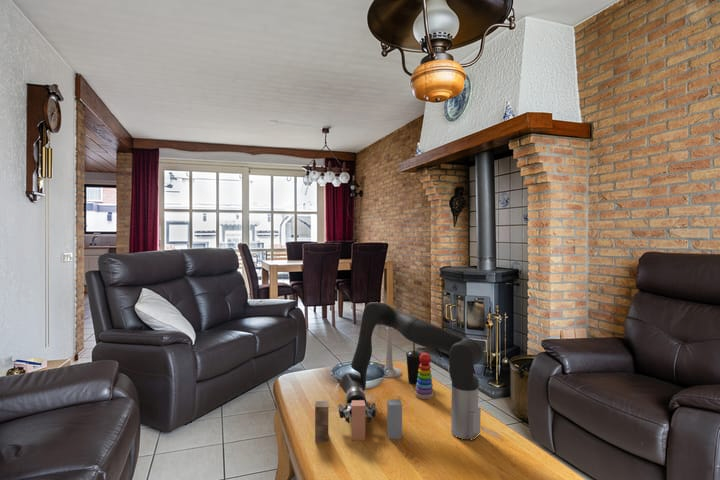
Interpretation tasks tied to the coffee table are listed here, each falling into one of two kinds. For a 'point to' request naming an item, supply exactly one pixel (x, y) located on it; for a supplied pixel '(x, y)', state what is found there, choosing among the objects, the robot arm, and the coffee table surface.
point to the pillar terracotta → (358, 420)
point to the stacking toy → (424, 378)
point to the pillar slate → (394, 418)
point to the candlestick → (389, 363)
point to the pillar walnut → (321, 421)
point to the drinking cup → (413, 365)
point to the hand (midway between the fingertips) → (358, 420)
